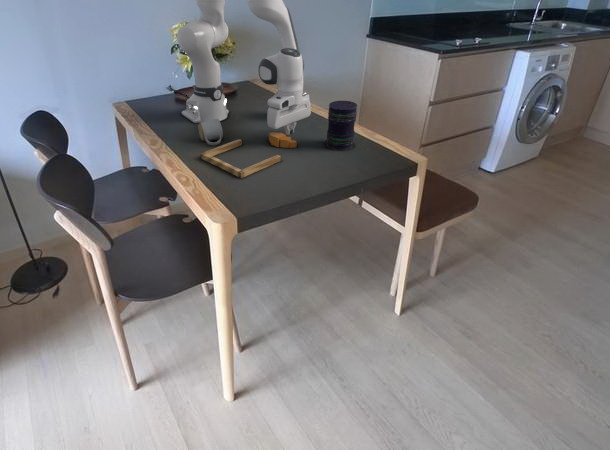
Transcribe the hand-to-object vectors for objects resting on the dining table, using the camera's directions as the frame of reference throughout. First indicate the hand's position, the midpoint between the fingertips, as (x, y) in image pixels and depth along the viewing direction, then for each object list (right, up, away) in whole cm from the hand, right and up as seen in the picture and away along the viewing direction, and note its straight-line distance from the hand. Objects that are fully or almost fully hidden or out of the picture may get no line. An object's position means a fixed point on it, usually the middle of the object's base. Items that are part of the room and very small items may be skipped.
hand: (289, 133), depth 157 cm
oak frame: (-18, -12, -12) cm, 25 cm away
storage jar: (+18, -5, -4) cm, 19 cm away
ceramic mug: (-30, -2, +3) cm, 30 cm away
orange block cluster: (-4, -4, -2) cm, 6 cm away
